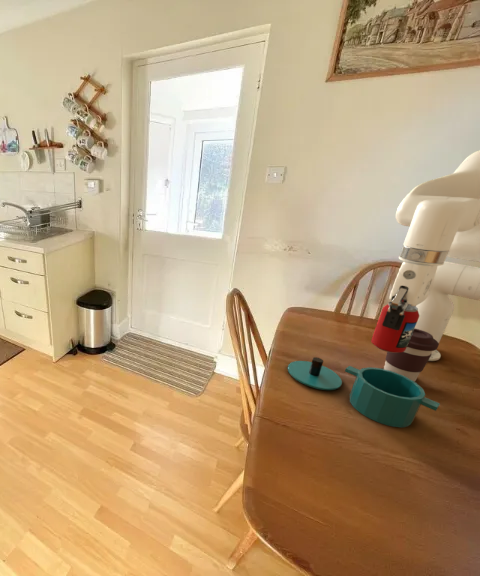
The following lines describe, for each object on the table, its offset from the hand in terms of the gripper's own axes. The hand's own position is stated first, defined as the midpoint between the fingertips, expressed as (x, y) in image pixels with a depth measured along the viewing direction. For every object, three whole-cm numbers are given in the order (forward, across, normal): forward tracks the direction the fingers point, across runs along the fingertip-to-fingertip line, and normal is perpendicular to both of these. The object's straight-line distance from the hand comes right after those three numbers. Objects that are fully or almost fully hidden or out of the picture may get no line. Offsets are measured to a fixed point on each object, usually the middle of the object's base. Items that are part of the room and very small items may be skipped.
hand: (396, 323), depth 78 cm
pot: (+23, -3, -4) cm, 23 cm away
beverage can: (+7, 0, 0) cm, 7 cm away
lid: (+22, -4, +12) cm, 26 cm away
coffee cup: (+23, +19, -1) cm, 30 cm away
